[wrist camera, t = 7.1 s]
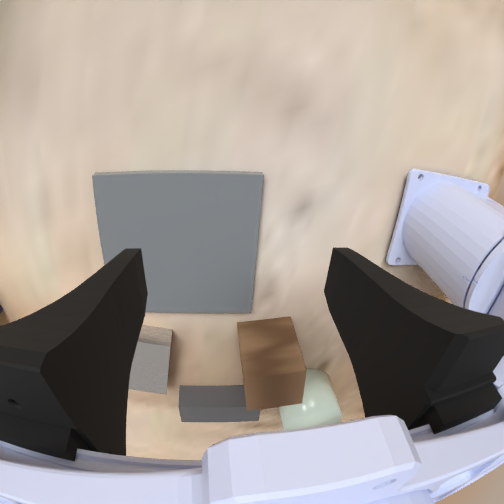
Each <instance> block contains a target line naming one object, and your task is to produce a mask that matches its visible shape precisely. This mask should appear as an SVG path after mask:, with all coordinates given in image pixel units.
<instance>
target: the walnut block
mask: <svg viewBox="0 0 504 504" xmlns="http://www.w3.org/2000/svg"><path fill="white" fill-rule="evenodd" d="M237 326H238V336H239V346H240V355H241V364H242V373H243V381H244V390H245V398H246V406H247V411H249V410H258V409H266V408H274V407H281V406H288V405H295V404H301V403H302V401H303V394H304V387H305V380H306V372H307V370H306V367H305V363H304V360H303V356H302V353H301V350H300V346H299V343H298V340H297V337H296V333H295V330H294V327H293V323H292V320H291V317H282V318H274V319H265V320H256V321H247V322H237Z"/></svg>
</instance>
